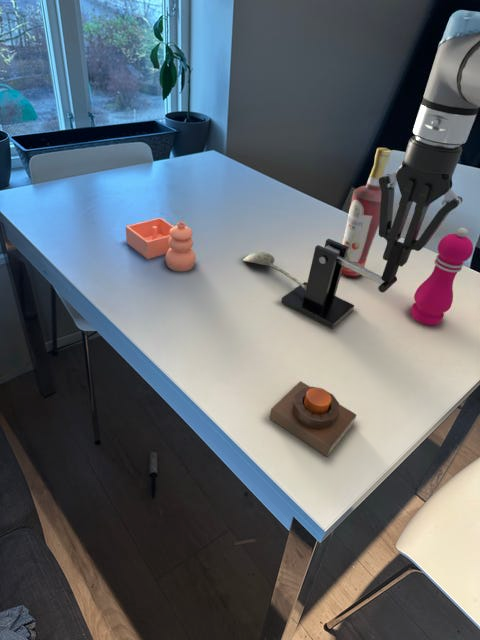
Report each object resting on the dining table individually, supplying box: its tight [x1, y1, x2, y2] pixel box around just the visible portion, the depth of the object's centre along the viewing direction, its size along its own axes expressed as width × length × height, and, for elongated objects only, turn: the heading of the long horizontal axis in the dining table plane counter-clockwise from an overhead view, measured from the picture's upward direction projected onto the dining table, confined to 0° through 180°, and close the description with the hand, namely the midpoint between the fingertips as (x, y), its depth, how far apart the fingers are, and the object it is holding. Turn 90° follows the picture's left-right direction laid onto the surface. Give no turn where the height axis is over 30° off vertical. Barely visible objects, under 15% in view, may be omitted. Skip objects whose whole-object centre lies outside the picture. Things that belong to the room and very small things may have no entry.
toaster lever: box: [323, 245, 398, 293], centre depth 82 cm, size 14×5×2 cm, turn 52°
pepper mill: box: [409, 227, 474, 326], centre depth 87 cm, size 7×7×20 cm
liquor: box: [341, 147, 392, 278], centre depth 96 cm, size 7×7×28 cm
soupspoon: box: [242, 251, 306, 291], centre depth 97 cm, size 22×3×7 cm
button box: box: [269, 381, 357, 457], centre depth 66 cm, size 10×8×4 cm
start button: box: [304, 387, 331, 414], centre depth 64 cm, size 4×4×2 cm
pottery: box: [125, 217, 196, 272], centre depth 100 cm, size 18×10×10 cm, turn 42°
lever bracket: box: [280, 238, 355, 330], centre depth 87 cm, size 12×9×14 cm
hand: (388, 278), depth 79 cm, fingers closed
